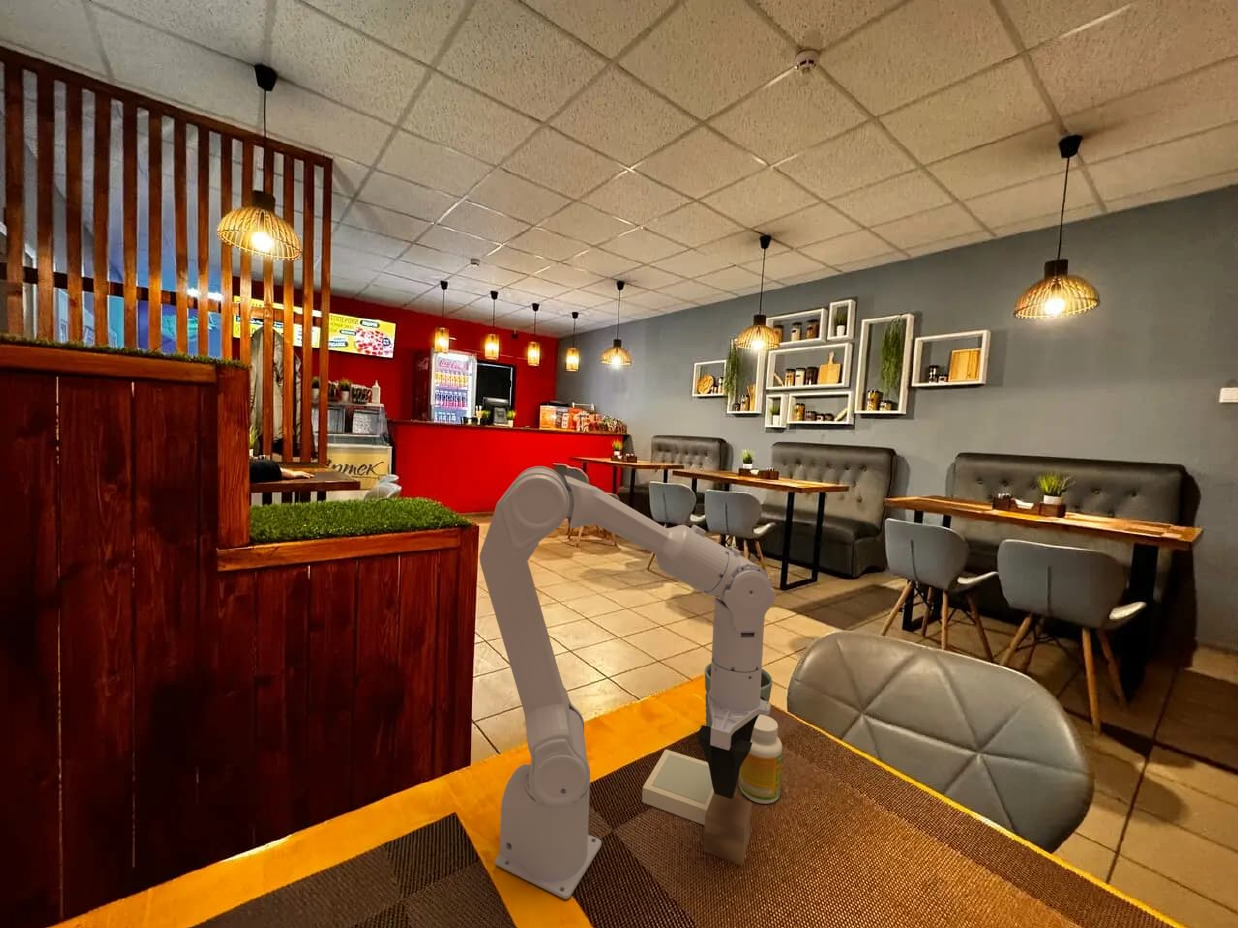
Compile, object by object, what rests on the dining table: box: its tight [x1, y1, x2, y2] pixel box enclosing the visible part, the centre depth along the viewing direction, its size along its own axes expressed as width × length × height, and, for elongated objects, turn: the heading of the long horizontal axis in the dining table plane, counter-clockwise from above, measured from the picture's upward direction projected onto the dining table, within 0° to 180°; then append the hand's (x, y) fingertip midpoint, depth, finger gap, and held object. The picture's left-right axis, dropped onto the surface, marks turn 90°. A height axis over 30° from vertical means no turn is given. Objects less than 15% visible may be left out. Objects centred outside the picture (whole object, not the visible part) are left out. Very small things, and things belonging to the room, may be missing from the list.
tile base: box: [641, 749, 714, 826], centre depth 67 cm, size 9×9×2 cm
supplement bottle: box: [738, 715, 783, 804], centre depth 67 cm, size 5×5×10 cm
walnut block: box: [703, 793, 753, 867], centre depth 58 cm, size 4×4×4 cm
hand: (731, 773), depth 58 cm, fingers open, 7 cm apart
